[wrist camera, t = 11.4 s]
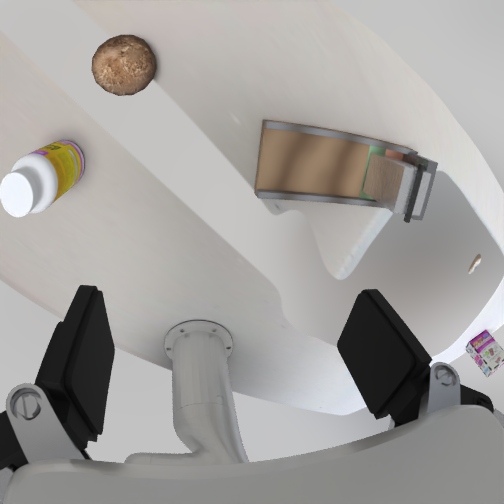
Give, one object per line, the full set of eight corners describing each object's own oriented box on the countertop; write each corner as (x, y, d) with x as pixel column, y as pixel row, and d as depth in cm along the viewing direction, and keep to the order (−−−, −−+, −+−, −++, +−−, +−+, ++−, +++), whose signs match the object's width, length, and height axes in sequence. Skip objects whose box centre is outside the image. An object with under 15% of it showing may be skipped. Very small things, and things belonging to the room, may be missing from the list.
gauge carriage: (397, 152, 37) (435, 168, 30) (386, 200, 41) (420, 223, 34) (372, 146, 36) (409, 161, 29) (361, 197, 40) (393, 221, 33)
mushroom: (79, 102, 25) (90, 80, 20) (91, 48, 24) (105, 21, 19) (140, 108, 30) (161, 90, 26) (147, 57, 29) (169, 34, 25)
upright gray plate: (412, 152, 38) (437, 162, 33) (399, 204, 42) (422, 220, 37) (403, 150, 37) (429, 160, 32) (390, 203, 42) (413, 219, 37)
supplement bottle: (79, 132, 29) (30, 152, 19) (91, 179, 33) (50, 217, 22) (40, 148, 29) (-14, 175, 18) (52, 192, 32) (6, 233, 21)
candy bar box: (464, 349, 82) (486, 378, 68) (468, 341, 79) (491, 371, 65) (482, 337, 82) (504, 363, 68) (486, 329, 80) (509, 356, 66)
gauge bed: (408, 148, 39) (417, 151, 37) (394, 205, 43) (403, 210, 41) (263, 119, 34) (267, 120, 32) (254, 192, 38) (257, 198, 36)
